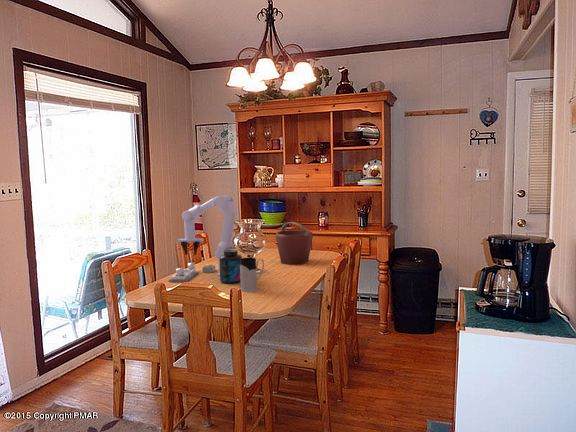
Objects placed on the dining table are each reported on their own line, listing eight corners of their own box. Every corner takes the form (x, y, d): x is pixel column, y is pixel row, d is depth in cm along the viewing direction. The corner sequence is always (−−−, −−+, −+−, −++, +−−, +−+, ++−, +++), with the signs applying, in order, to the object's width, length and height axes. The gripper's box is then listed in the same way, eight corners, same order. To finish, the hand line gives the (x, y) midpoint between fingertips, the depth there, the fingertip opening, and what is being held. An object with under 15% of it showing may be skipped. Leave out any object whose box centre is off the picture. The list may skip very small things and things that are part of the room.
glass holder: (236, 289, 225) (235, 259, 223) (258, 284, 235) (257, 254, 233) (247, 292, 219) (246, 261, 217) (270, 287, 229) (269, 257, 227)
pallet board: (187, 281, 244) (187, 276, 243) (168, 281, 245) (168, 276, 244) (198, 273, 264) (197, 268, 263) (180, 273, 264) (180, 268, 264)
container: (221, 278, 248) (220, 249, 247) (243, 278, 248) (242, 248, 247) (218, 284, 237) (217, 253, 235) (242, 283, 237) (240, 252, 235)
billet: (196, 271, 267) (195, 263, 267) (189, 272, 265) (189, 264, 265) (193, 270, 271) (193, 262, 270) (187, 271, 269) (186, 263, 268)
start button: (210, 271, 266) (210, 265, 266) (205, 271, 267) (205, 265, 266) (212, 270, 269) (212, 264, 269) (207, 270, 270) (206, 264, 269)
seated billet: (185, 277, 247) (184, 268, 247) (178, 279, 245) (177, 269, 245) (182, 276, 251) (182, 267, 250) (175, 277, 249) (175, 268, 248)
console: (212, 272, 265) (212, 267, 264) (202, 272, 265) (202, 267, 265) (215, 270, 271) (215, 265, 270) (205, 270, 271) (205, 265, 271)
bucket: (318, 264, 280) (317, 222, 277) (284, 267, 272) (282, 225, 269) (302, 257, 303) (301, 219, 300) (270, 260, 294) (268, 221, 292)
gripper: (204, 230, 269) (205, 253, 270) (179, 230, 270) (180, 253, 272) (200, 231, 262) (201, 255, 263) (175, 232, 263) (176, 255, 265)
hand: (190, 254), depth 267 cm, fingers open, 5 cm apart
